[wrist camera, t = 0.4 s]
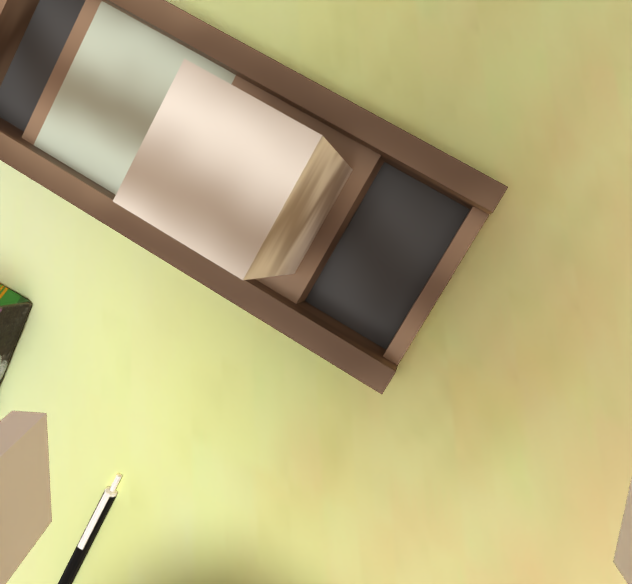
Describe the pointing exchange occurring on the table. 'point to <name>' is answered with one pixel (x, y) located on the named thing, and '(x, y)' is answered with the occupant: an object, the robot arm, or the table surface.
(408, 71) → the table surface
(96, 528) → the pen
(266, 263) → the cream block
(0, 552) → the robot arm
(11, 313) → the chalk box
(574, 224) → the table surface
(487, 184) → the tray
